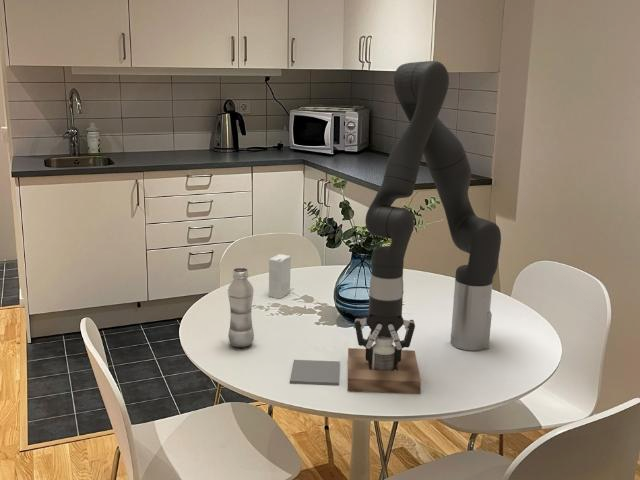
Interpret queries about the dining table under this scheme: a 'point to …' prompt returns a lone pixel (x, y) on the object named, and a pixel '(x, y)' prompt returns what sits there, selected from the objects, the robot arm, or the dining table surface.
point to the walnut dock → (383, 374)
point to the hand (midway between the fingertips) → (382, 361)
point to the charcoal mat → (315, 372)
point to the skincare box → (279, 276)
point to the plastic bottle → (240, 309)
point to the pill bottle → (383, 354)
